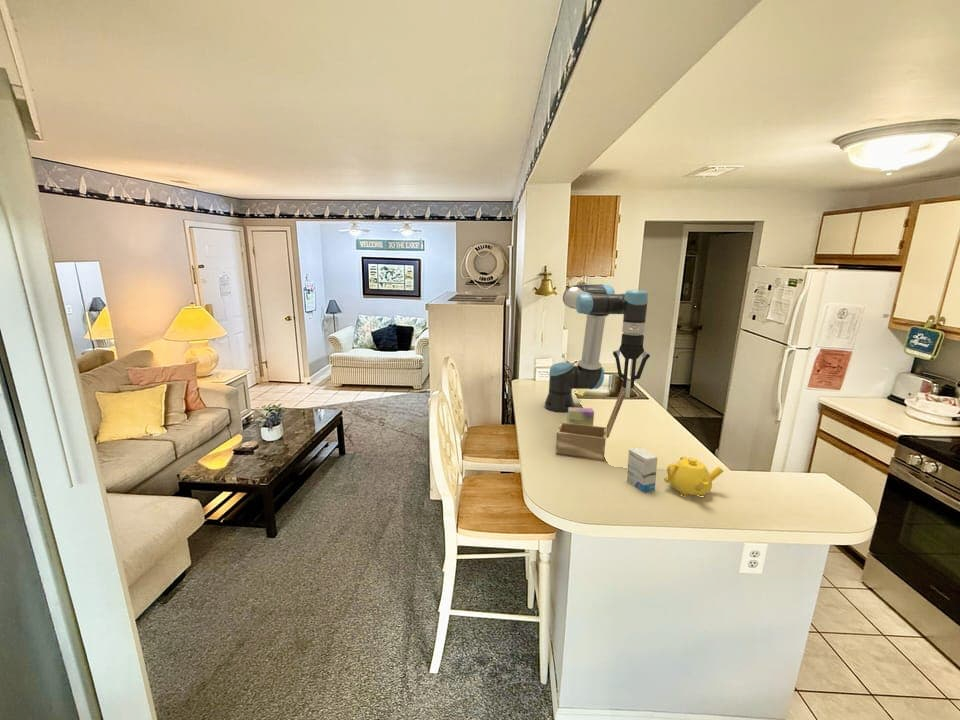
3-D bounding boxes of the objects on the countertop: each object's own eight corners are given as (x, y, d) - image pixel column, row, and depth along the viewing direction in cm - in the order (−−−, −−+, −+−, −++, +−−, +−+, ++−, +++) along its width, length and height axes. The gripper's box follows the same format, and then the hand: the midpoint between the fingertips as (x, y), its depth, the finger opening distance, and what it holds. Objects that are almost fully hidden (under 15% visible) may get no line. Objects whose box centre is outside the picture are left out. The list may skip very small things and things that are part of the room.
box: (590, 433, 184) (592, 407, 181) (592, 438, 178) (594, 412, 175) (566, 432, 184) (567, 406, 182) (567, 437, 179) (569, 411, 176)
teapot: (703, 508, 126) (708, 474, 124) (659, 490, 136) (663, 458, 134) (721, 492, 135) (726, 460, 133) (678, 477, 145) (682, 447, 143)
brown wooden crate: (559, 442, 173) (560, 422, 171) (604, 448, 168) (606, 427, 166) (555, 454, 162) (556, 432, 160) (603, 461, 156) (605, 438, 155)
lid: (622, 386, 161) (624, 387, 161) (606, 426, 166) (609, 426, 166) (622, 395, 149) (625, 395, 149) (606, 437, 154) (608, 438, 154)
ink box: (655, 490, 136) (659, 457, 133) (642, 493, 134) (646, 459, 132) (637, 478, 144) (640, 446, 141) (625, 480, 142) (628, 448, 140)
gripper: (614, 334, 149) (608, 397, 154) (653, 336, 145) (646, 401, 150) (614, 331, 156) (609, 392, 161) (651, 333, 152) (645, 395, 157)
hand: (627, 396), depth 155 cm, fingers closed
